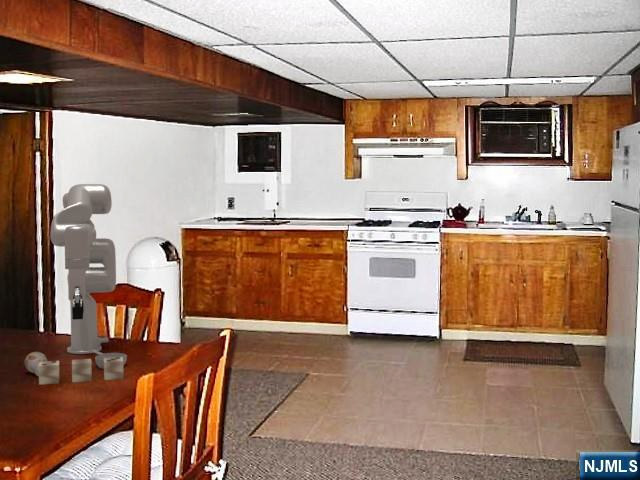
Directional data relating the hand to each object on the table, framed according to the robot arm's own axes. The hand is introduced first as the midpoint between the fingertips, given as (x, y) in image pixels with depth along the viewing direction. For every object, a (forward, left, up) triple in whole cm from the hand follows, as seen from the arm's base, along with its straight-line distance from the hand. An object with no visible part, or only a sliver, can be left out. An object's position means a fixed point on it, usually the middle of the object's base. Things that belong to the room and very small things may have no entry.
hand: (78, 316), depth 248 cm
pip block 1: (+8, -5, -21) cm, 23 cm away
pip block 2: (-9, +6, -21) cm, 23 cm away
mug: (+5, -16, -21) cm, 27 cm away
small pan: (-18, -10, -21) cm, 29 cm away
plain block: (-1, +1, -21) cm, 21 cm away
